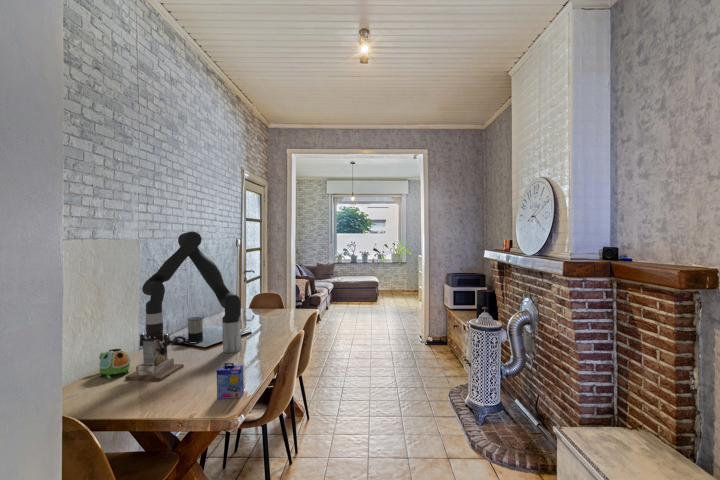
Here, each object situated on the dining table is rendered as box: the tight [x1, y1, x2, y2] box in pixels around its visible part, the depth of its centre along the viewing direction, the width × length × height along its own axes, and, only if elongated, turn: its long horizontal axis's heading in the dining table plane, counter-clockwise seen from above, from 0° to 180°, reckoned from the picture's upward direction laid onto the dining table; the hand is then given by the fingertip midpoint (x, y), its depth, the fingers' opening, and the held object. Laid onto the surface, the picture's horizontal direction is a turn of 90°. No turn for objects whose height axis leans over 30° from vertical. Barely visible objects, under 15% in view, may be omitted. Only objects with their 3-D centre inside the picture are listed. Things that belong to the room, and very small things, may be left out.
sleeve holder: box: [124, 357, 185, 382], centre depth 183 cm, size 18×18×6 cm
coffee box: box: [142, 338, 168, 366], centre depth 183 cm, size 9×6×16 cm
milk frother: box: [172, 316, 204, 345], centre depth 235 cm, size 14×16×15 cm
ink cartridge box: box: [216, 362, 245, 400], centre depth 155 cm, size 10×6×14 cm, turn 95°
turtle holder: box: [98, 347, 131, 380], centre depth 183 cm, size 12×18×12 cm
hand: (155, 354), depth 183 cm, fingers open, 8 cm apart
